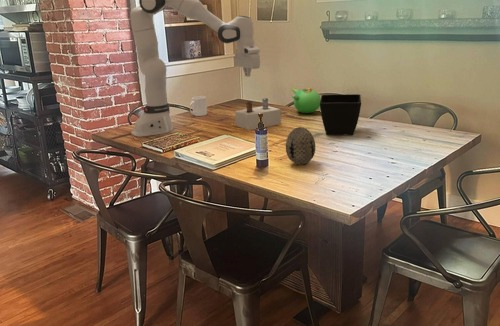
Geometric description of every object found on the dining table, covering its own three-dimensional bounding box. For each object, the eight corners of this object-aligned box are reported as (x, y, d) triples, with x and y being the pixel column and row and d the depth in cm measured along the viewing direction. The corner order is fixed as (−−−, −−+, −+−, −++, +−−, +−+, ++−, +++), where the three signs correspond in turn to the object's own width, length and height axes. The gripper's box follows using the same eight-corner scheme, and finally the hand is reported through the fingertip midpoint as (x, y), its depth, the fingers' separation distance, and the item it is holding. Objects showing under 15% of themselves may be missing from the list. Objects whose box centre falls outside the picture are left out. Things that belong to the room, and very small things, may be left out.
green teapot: (322, 115, 259) (322, 89, 255) (293, 117, 260) (292, 91, 255) (318, 108, 276) (318, 84, 272) (290, 110, 277) (290, 86, 272)
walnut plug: (249, 119, 242) (248, 102, 239) (246, 118, 244) (245, 101, 241) (254, 118, 243) (253, 101, 240) (251, 117, 246) (250, 100, 243)
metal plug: (265, 116, 246) (264, 99, 243) (261, 115, 249) (261, 99, 246) (269, 115, 248) (269, 98, 245) (266, 114, 250) (266, 98, 247)
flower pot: (360, 137, 213) (361, 101, 208) (319, 137, 217) (319, 102, 212) (359, 127, 231) (360, 94, 225) (321, 127, 234) (321, 94, 229)
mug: (186, 116, 277) (184, 99, 274) (201, 112, 285) (199, 95, 282) (195, 118, 272) (193, 100, 268) (210, 114, 280) (208, 96, 276)
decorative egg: (321, 162, 183) (321, 125, 178) (304, 170, 174) (303, 132, 170) (297, 157, 190) (296, 122, 185) (280, 165, 182) (278, 128, 177)
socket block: (249, 130, 237) (248, 115, 234) (236, 125, 249) (235, 111, 246) (281, 123, 246) (280, 109, 244) (267, 119, 258) (266, 105, 255)
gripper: (230, 48, 239) (232, 75, 244) (250, 50, 222) (252, 78, 227) (241, 47, 242) (243, 73, 247) (261, 49, 225) (263, 77, 230)
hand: (247, 76), depth 237 cm, fingers closed
